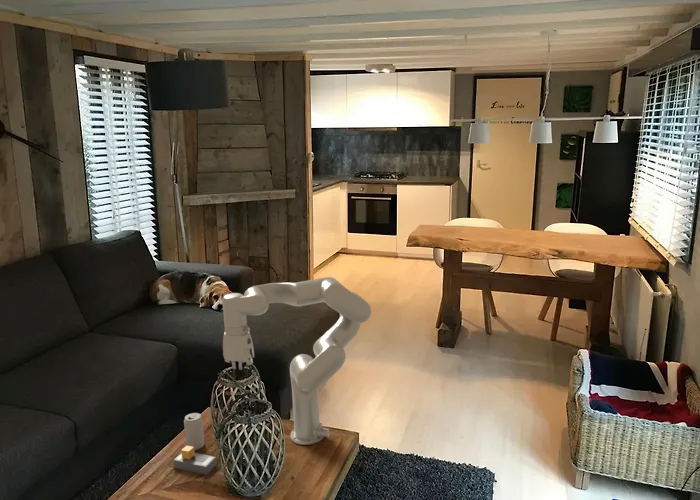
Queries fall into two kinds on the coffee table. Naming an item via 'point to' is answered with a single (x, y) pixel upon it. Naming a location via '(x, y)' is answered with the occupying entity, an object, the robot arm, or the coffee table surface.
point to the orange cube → (188, 452)
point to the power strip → (196, 463)
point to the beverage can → (194, 430)
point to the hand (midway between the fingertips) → (240, 378)
